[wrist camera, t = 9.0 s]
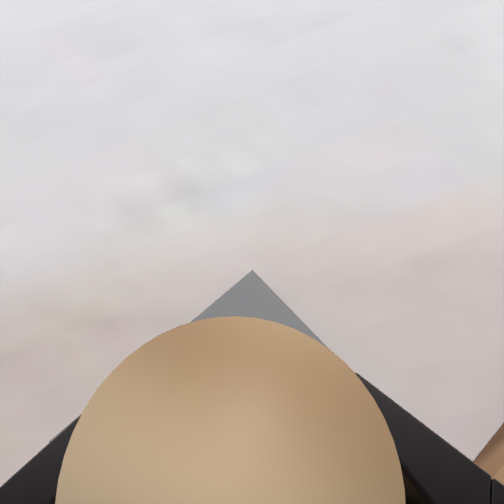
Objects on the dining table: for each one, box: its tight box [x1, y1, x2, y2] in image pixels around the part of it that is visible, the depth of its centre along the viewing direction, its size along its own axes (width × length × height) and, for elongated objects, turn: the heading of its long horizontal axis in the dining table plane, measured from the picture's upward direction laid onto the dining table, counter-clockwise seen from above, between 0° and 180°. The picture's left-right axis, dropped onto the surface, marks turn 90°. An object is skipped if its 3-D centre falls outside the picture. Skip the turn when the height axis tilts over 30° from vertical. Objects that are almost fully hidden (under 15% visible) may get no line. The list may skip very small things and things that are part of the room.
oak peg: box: [55, 316, 405, 504], centre depth 10 cm, size 4×4×10 cm
